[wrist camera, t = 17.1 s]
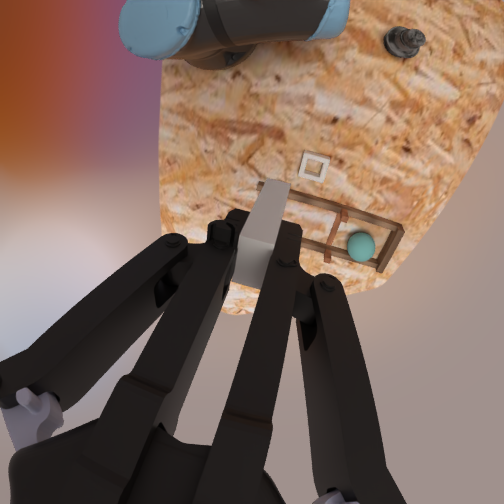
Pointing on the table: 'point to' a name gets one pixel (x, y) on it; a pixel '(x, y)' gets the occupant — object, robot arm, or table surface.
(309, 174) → the white square frame
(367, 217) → the lane
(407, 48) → the dark grey chess piece
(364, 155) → the table surface
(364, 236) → the ball
